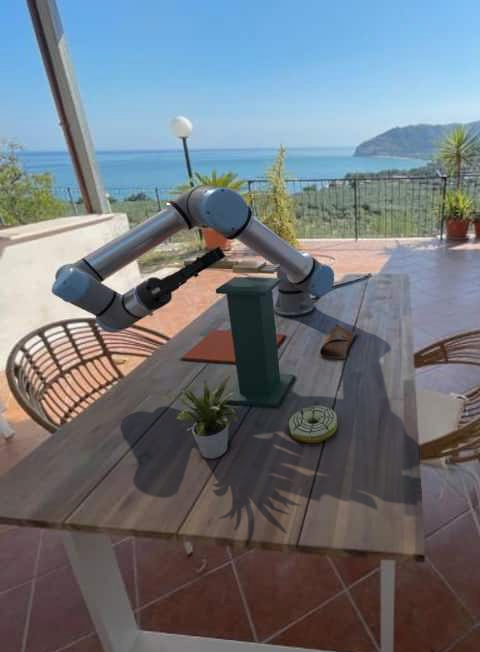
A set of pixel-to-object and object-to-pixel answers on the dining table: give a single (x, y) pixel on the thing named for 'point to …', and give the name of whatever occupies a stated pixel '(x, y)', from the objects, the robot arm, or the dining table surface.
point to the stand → (255, 342)
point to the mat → (217, 348)
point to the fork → (242, 266)
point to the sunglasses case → (338, 343)
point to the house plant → (209, 420)
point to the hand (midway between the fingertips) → (219, 253)
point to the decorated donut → (313, 424)
